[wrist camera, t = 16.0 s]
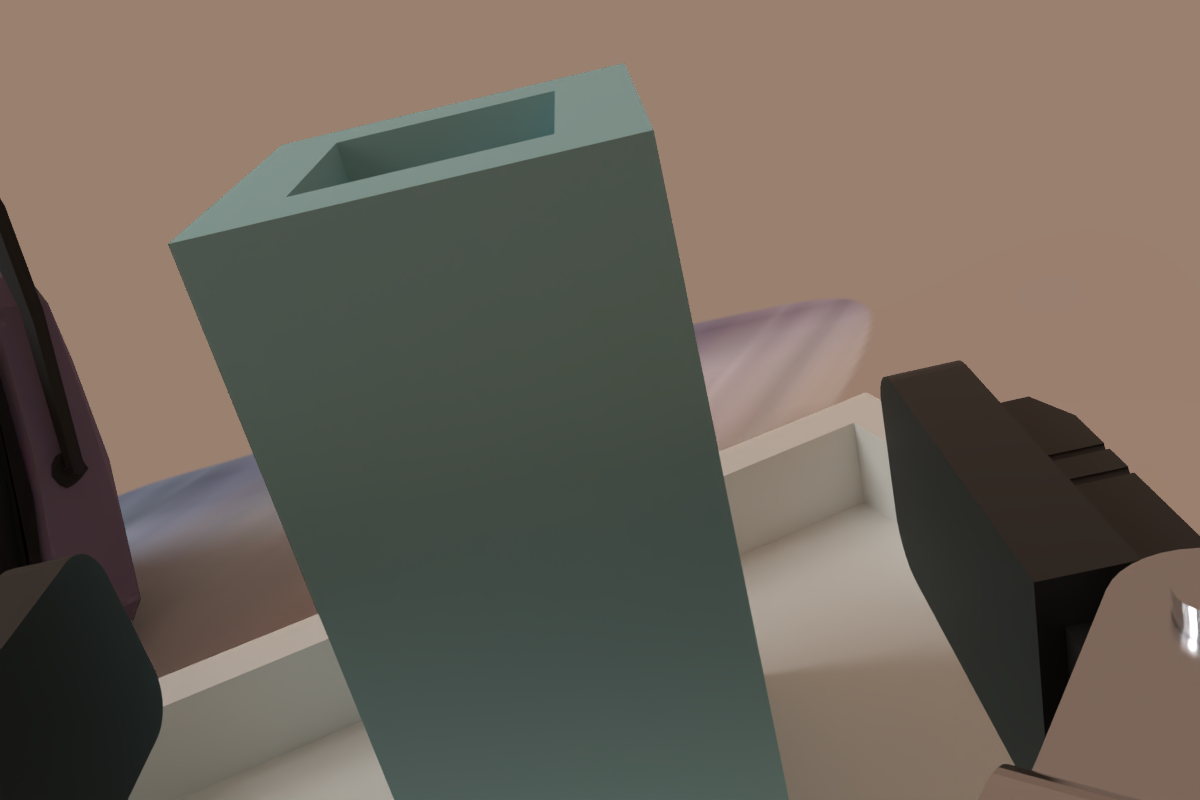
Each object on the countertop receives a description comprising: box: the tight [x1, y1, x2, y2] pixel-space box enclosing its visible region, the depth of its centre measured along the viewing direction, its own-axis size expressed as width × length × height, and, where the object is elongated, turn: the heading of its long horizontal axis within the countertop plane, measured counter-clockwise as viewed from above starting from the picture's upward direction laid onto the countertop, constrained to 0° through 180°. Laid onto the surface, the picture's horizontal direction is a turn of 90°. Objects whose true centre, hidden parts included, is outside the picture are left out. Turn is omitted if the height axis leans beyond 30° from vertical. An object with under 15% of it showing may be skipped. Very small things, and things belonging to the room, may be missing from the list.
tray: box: [128, 392, 1015, 800], centre depth 17 cm, size 18×12×3 cm, turn 113°
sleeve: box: [168, 63, 789, 800], centre depth 15 cm, size 5×5×11 cm
